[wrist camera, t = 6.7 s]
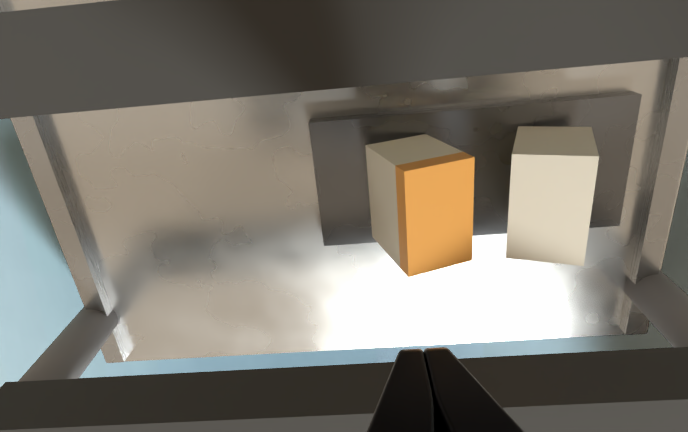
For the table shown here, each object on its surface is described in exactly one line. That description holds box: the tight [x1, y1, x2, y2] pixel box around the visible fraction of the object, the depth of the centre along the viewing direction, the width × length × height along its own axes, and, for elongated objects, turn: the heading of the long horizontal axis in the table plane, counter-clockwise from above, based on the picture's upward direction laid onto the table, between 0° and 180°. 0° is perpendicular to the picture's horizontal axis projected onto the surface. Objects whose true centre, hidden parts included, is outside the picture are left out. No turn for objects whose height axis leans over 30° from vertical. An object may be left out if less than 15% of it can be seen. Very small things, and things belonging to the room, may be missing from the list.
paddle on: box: [506, 126, 599, 266], centre depth 15 cm, size 2×3×3 cm, turn 5°
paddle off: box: [365, 134, 475, 277], centre depth 15 cm, size 2×3×3 cm, turn 5°
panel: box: [0, 0, 688, 363], centre depth 18 cm, size 24×16×2 cm, turn 95°
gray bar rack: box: [0, 0, 688, 432], centre depth 15 cm, size 25×13×8 cm, turn 95°
